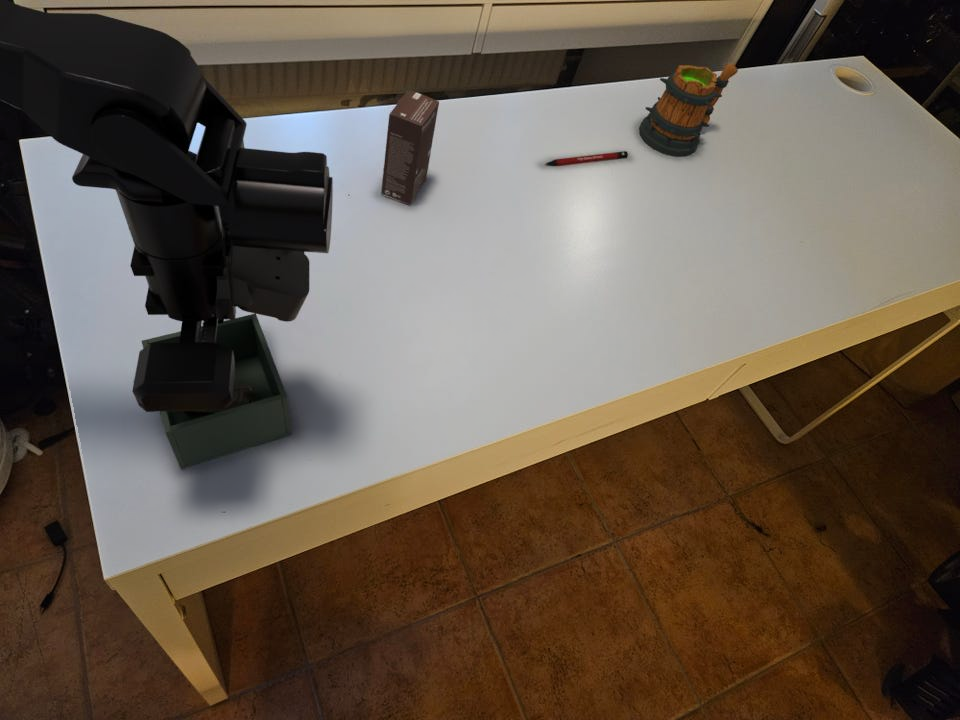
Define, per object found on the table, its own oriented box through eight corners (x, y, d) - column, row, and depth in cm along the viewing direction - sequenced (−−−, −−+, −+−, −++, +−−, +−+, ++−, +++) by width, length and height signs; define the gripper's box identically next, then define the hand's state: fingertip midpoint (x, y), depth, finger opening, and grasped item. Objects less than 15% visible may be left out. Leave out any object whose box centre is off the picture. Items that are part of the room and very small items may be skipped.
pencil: (542, 164, 95) (543, 159, 94) (623, 155, 99) (625, 149, 99) (544, 168, 94) (546, 163, 93) (626, 159, 99) (628, 153, 98)
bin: (180, 469, 59) (165, 432, 54) (157, 382, 63) (141, 340, 58) (292, 434, 63) (287, 396, 57) (262, 354, 67) (255, 313, 62)
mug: (662, 162, 99) (695, 93, 90) (624, 122, 104) (652, 53, 95) (724, 148, 105) (761, 82, 96) (685, 111, 109) (717, 44, 100)
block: (188, 389, 63) (185, 378, 61) (254, 386, 64) (252, 375, 63) (185, 421, 61) (181, 411, 59) (253, 418, 62) (251, 408, 61)
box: (412, 207, 84) (422, 125, 75) (380, 195, 85) (385, 112, 75) (429, 180, 88) (440, 99, 78) (398, 169, 88) (405, 87, 79)
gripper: (298, 337, 41) (308, 454, 54) (301, 149, 52) (309, 283, 64) (103, 339, 39) (160, 461, 51) (148, 142, 49) (186, 283, 62)
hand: (213, 363), depth 57 cm, fingers open, 9 cm apart
